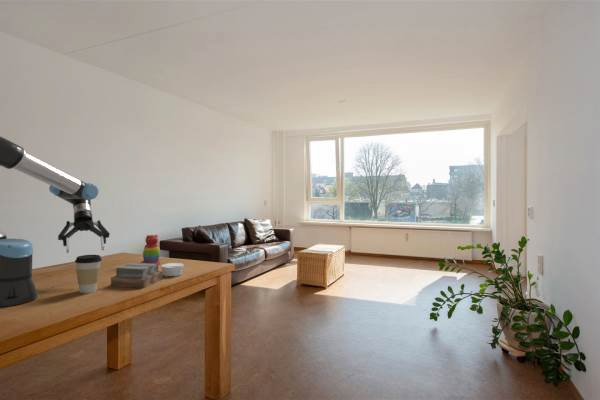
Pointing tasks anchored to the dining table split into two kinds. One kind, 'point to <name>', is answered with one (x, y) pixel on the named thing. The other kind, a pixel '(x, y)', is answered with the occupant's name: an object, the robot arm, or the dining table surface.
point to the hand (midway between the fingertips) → (85, 249)
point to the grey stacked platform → (136, 275)
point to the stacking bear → (151, 250)
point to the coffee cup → (88, 272)
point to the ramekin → (172, 269)
